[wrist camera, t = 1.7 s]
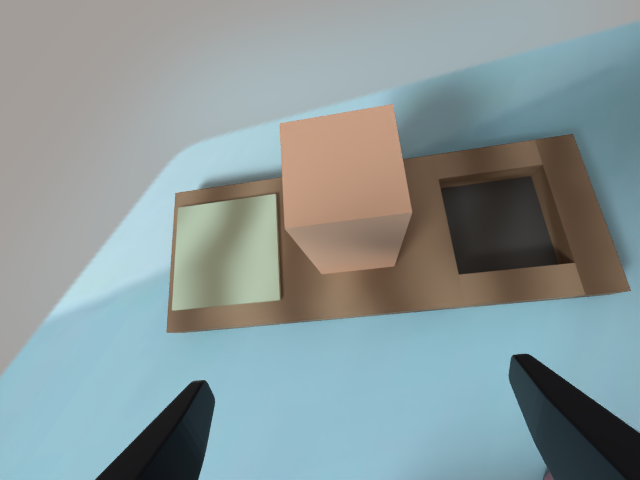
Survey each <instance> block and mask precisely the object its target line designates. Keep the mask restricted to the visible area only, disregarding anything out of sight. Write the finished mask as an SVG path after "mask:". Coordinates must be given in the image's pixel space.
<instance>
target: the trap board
mask: <svg viewBox="0 0 640 480" xmlns="http://www.w3.org/2000/svg"><path fill="white" fill-rule="evenodd" d="M403 163H404V169H405V175H406V180H407V186H408V191H409V197H410V203H411V208H412V214H411V218H410V221H409V224H408V227H407V230H406V233H405V236H404V239H403V242H402V245H401V248H400V251H399V254H398V257H397V260H396V263H395V266H394V267H385V268H375V269H366V270H357V271H348V272H338V273H329V274H321V273H320V271H319V270H318V269H317V268H316V267H315V265H314V264H313V263H312V262H311V260H310V259H309V258H308V257H307V255H306V254H305V253H304V252H303V251H302V249H301V248H300V247H299V246H298V244H297V243H296V242H295V241H294V239H293V238H292V237H291V236H290V235H289V233H288V232H287V231H286V230H285V225H284V204H283V183H282V177H280V178H274V179H267V180H260V181H253V182H247V183H240V184H233V185H226V186H220V187H213V188H206V189H200V190H193V191H186V192H179V193H175V208H174V224H173V240H172V255H171V271H170V286H169V302H168V317H167V333H186V332H198V331H209V330H220V329H231V328H242V327H253V326H265V325H276V324H287V323H298V322H309V321H321V320H332V319H343V318H354V317H365V316H376V315H388V314H399V313H410V312H421V311H432V310H443V309H455V308H466V307H477V306H488V305H499V304H510V303H522V302H533V301H544V300H555V299H566V298H578V297H589V296H600V295H609V294H615V293H621V292H627V291H631V290H630V287H629V284H628V281H627V279H626V276H625V273H624V271H623V268H622V265H621V263H620V260H619V257H618V255H617V252H616V249H615V246H614V244H613V241H612V238H611V236H610V233H609V230H608V228H607V225H606V222H605V219H604V217H603V214H602V211H601V209H600V206H599V203H598V201H597V198H596V195H595V193H594V190H593V187H592V184H591V182H590V179H589V176H588V174H587V171H586V168H585V166H584V163H583V160H582V157H581V155H580V152H579V149H578V147H577V144H576V141H575V139H574V136H573V134H570V135H563V136H556V137H550V138H543V139H536V140H529V141H523V142H516V143H509V144H502V145H496V146H489V147H482V148H475V149H469V150H462V151H455V152H449V153H442V154H435V155H428V156H422V157H415V158H408V159H403Z"/></svg>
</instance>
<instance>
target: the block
mask: <svg viewBox="0 0 640 480" xmlns="http://www.w3.org/2000/svg"><path fill="white" fill-rule="evenodd" d="M280 141H281V162H282V183H283V204H284V225H285V230H286V231H287V232H288V233H289V235H290V236H291V237H292V238H293V239H294V241H295V242H296V243H297V244H298V246H299V247H300V248H301V249H302V251H303V252H304V253H305V254H306V255H307V257H308V258H309V259H310V260H311V262H312V263H313V264H314V265H315V267H316V268H317V269H318V270H319V271H320V273H321V274H329V273H338V272H348V271H357V270H366V269H375V268H385V267H394V266H395V263H396V260H397V257H398V254H399V251H400V248H401V245H402V242H403V239H404V236H405V233H406V230H407V227H408V224H409V221H410V218H411V214H412V208H411V203H410V197H409V191H408V186H407V180H406V175H405V169H404V163H403V158H402V152H401V146H400V141H399V135H398V130H397V124H396V118H395V113H394V107H393V104H391V105H385V106H379V107H374V108H368V109H362V110H356V111H350V112H344V113H338V114H332V115H327V116H321V117H315V118H309V119H303V120H297V121H291V122H286V123H280Z"/></svg>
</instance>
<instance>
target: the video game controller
mask: <svg viewBox="0 0 640 480" xmlns="http://www.w3.org/2000/svg"><path fill="white" fill-rule="evenodd" d="M543 480H554V479H553V477H552V475H551V473H550V471H549V472H548V473H547V474H546V475H545V477H544V479H543Z"/></svg>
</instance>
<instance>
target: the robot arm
mask: <svg viewBox="0 0 640 480" xmlns="http://www.w3.org/2000/svg"><path fill="white" fill-rule="evenodd" d="M509 381H510V384H511V387H512V389H513V391H514V394H515V396H516V399H517V401H518V404H519V406H520V409H521V411H522V414H523V416H524V419H525V421H526V424H527V426H528V428H529V431H530V433H531V436H532V438H533V440H534V442H535V444H536V446H537V448H538V450H539V452H540V454H541V456H542V458H543V460H544V462H545V464H546V466H547V468H548V470H549V471H550V473H551V475H552V477H553V479H554V480H640V433H639V432H638V431H636V430H635V429H633V428H632V427H631V426H629V425H628V424H626V423H625V422H624V421H622V420H621V419H619V418H618V417H617V416H615V415H614V414H612V413H611V412H610V411H608V410H607V409H605V408H604V407H603V406H601V405H600V404H598V403H597V402H596V401H594V400H593V399H591V398H590V397H589V396H587V395H586V394H584V393H583V392H582V391H580V390H579V389H577V388H576V387H575V386H573V385H572V384H570V383H569V382H568V381H566V380H565V379H563V378H562V377H561V376H559V375H558V374H556V373H555V372H554V371H552V370H551V369H549V368H548V367H546V366H545V365H544V364H542V363H541V362H539V361H538V360H537V359H535V358H534V357H532V356H531V355H529V354H517V355H513V356H512V357H511V362H510V369H509ZM214 406H215V398H214V395H213V393H212V391H211V389H210V387H209V385H208V383H207V381H205V380H199V381H193V382H191V383H190V384H189V385H188V386H187V387H186V388H185V389H184V390H183V391H182V392H181V393H180V394H179V395H178V396H177V397H176V398H175V399H174V400H173V401H172V402H171V403H170V404H169V405H168V406H167V407H166V408H165V409H164V410H163V411H162V412H161V413H160V414H159V415H158V416H157V417H156V418H155V419H154V420H153V421H152V422H151V423H150V424H149V425H148V426H147V427H146V428H145V429H144V430H143V432H142V433H141V434H140V435H139V436H138V437H137V438H136V439H135V440H134V441H133V442H132V443H131V444H130V445H129V446H128V447H127V448H126V449H125V450H124V451H123V452H122V453H121V454H120V455H119V456H118V457H117V458H116V459H115V460H114V461H113V462H112V463H111V464H110V465H109V466H108V467H107V468H106V469H105V470H104V471H103V472H102V473H101V474H100V475H99V476H98V477H97V478H96V479H95V480H198V478H199V475H200V471H201V468H202V464H203V461H204V457H205V452H206V448H207V442H208V437H209V432H210V427H211V422H212V416H213V411H214Z"/></svg>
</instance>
